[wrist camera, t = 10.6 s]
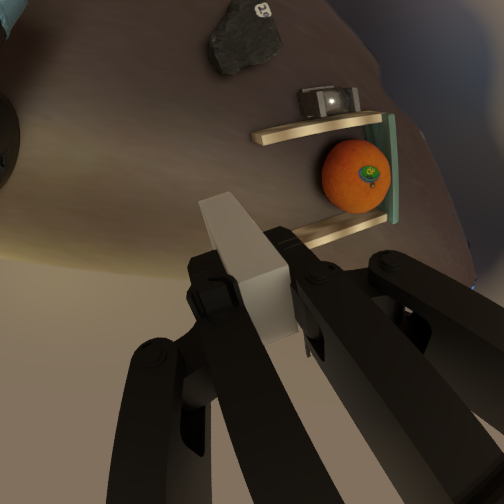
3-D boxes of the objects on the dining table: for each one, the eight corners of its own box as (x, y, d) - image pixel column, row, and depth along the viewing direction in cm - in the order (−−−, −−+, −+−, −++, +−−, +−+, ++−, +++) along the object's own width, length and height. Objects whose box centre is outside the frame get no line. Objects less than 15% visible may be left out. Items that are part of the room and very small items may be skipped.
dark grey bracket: (301, 117, 36) (321, 120, 32) (296, 90, 34) (315, 88, 30) (338, 111, 37) (361, 114, 32) (333, 85, 35) (356, 84, 30)
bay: (274, 243, 44) (289, 262, 39) (250, 132, 36) (265, 137, 31) (376, 208, 47) (398, 222, 42) (368, 110, 38) (394, 114, 33)
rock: (250, -4, 26) (264, -19, 21) (280, 58, 32) (299, 52, 27) (186, 17, 26) (189, 2, 21) (218, 81, 32) (226, 77, 27)
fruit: (369, 193, 45) (400, 210, 38) (315, 209, 44) (343, 230, 37) (364, 131, 40) (399, 139, 33) (306, 142, 38) (336, 151, 32)
